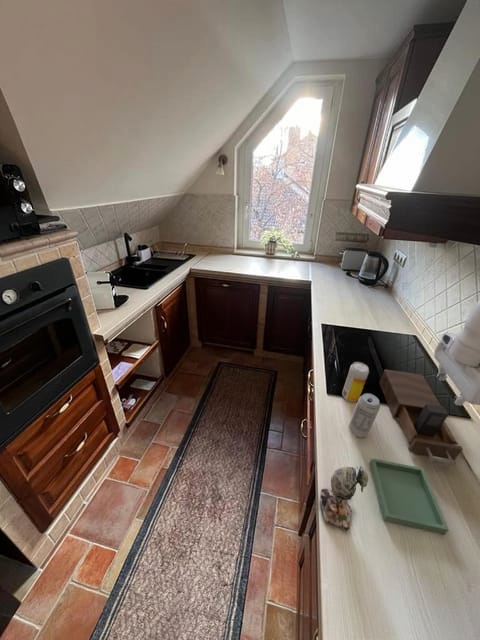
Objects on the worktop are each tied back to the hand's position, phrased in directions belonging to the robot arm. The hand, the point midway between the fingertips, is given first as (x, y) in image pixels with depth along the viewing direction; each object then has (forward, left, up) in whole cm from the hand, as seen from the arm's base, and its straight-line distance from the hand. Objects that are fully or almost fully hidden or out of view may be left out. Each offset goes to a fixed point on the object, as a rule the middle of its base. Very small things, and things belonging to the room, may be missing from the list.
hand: (448, 390), depth 72 cm
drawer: (0, +1, -20) cm, 20 cm away
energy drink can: (+20, +2, -21) cm, 29 cm away
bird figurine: (+30, +26, -21) cm, 45 cm away
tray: (+12, +20, -21) cm, 31 cm away
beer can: (+20, -13, -21) cm, 31 cm away
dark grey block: (0, 0, -19) cm, 19 cm away
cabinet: (0, -15, -21) cm, 25 cm away
